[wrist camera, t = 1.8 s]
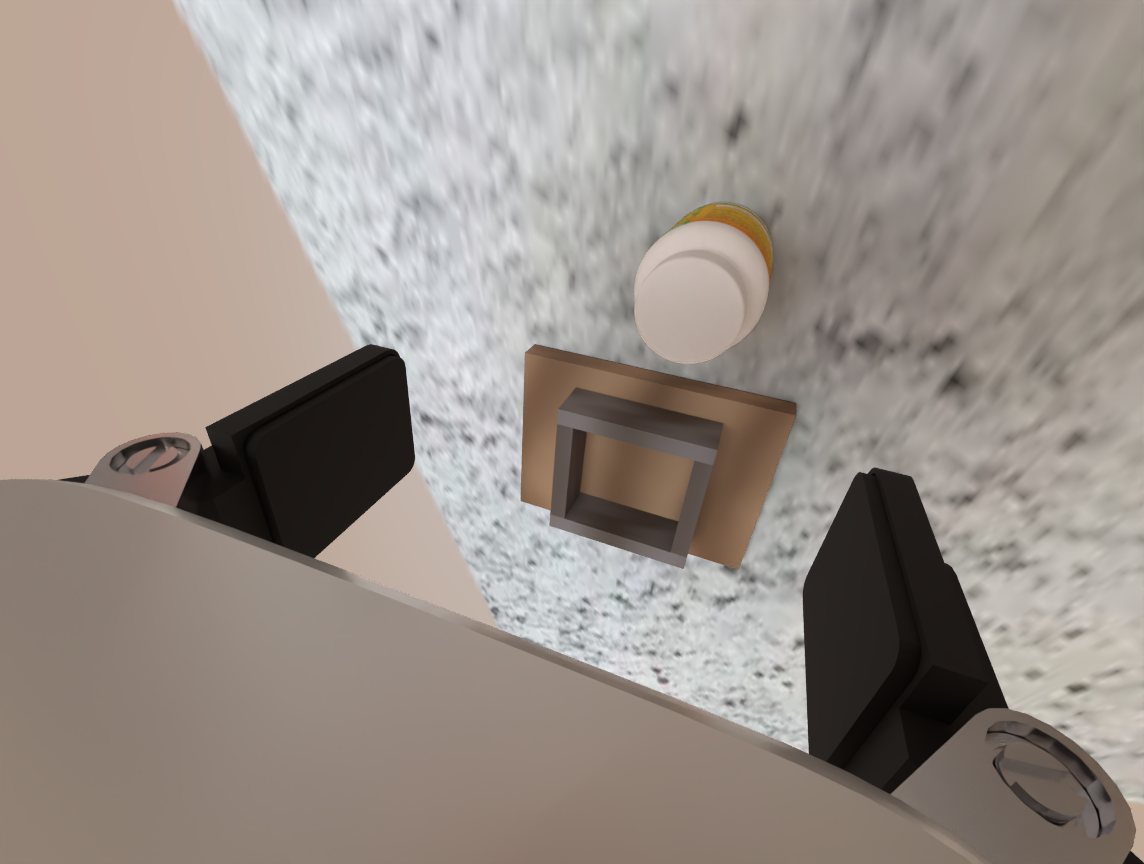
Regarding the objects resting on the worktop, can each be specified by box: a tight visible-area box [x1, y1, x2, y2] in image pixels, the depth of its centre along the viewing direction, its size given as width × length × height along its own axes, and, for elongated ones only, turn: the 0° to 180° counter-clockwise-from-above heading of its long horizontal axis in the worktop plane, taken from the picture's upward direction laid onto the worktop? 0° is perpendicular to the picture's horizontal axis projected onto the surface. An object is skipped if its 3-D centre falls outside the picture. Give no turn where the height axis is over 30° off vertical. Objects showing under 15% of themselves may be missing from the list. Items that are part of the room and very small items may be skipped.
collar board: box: [521, 344, 796, 569], centre depth 32 cm, size 16×12×4 cm
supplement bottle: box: [634, 202, 773, 364], centre depth 22 cm, size 5×5×10 cm
